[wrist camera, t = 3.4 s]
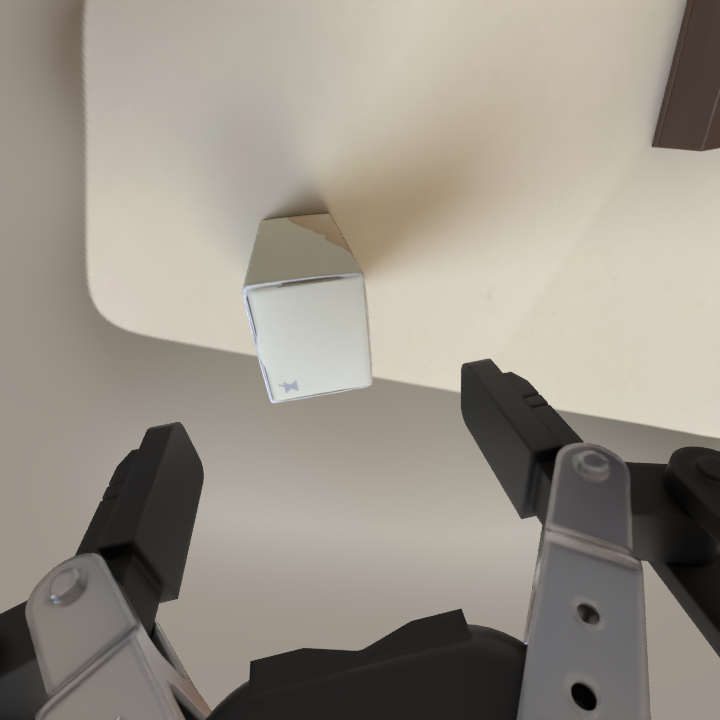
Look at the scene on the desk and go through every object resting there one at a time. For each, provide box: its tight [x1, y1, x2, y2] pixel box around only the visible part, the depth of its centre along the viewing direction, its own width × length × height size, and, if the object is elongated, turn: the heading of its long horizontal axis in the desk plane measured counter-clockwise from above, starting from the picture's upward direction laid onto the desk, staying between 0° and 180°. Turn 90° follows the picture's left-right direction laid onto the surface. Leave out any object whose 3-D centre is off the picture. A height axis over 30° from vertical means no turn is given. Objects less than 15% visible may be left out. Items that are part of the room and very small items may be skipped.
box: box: [242, 214, 372, 403], centre depth 19 cm, size 5×4×11 cm
